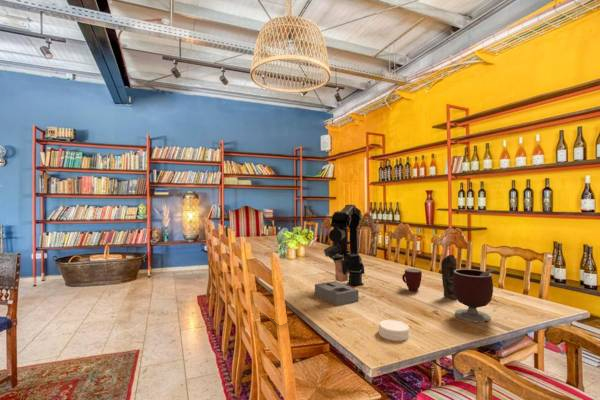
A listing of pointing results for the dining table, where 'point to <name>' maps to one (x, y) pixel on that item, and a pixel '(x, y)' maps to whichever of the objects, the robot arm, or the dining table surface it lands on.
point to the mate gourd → (473, 292)
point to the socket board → (336, 293)
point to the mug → (412, 278)
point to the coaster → (394, 330)
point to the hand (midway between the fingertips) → (341, 273)
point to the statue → (448, 275)
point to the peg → (340, 272)
